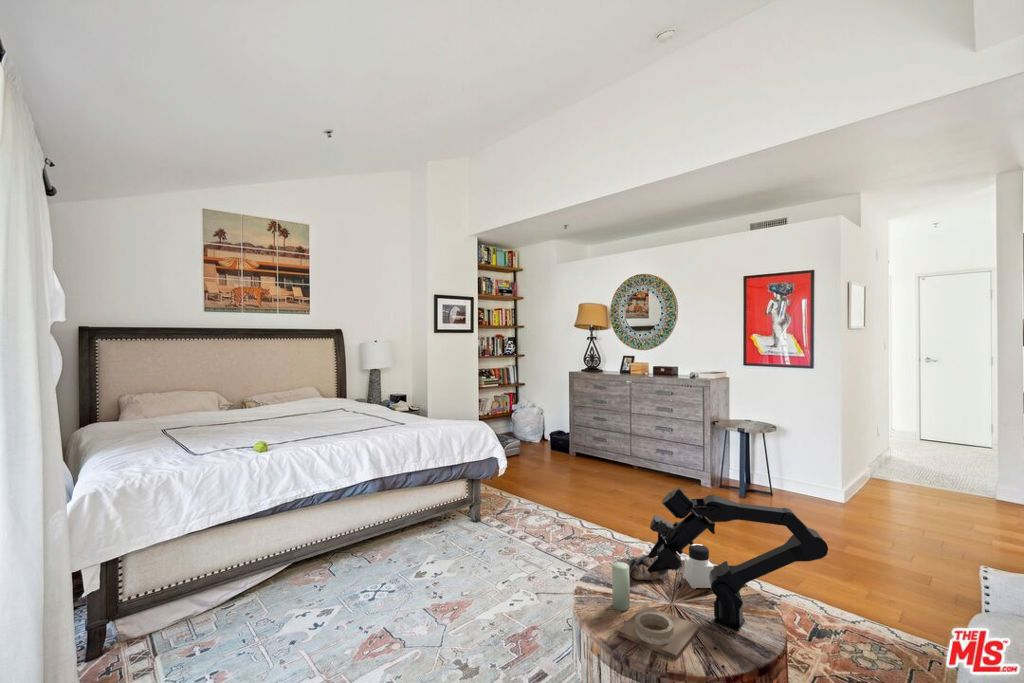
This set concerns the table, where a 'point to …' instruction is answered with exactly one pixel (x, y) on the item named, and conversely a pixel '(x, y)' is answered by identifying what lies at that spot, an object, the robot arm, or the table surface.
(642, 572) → the dark brown lumpy piece
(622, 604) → the pale green peg
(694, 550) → the medicine bottle
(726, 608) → the robot arm
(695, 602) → the table surface
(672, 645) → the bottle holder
